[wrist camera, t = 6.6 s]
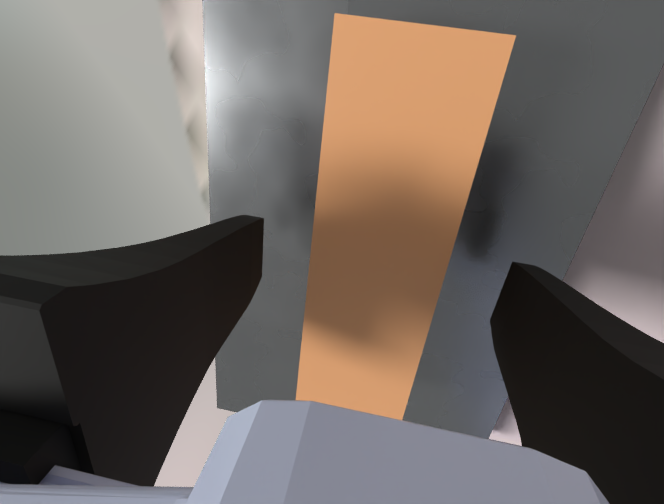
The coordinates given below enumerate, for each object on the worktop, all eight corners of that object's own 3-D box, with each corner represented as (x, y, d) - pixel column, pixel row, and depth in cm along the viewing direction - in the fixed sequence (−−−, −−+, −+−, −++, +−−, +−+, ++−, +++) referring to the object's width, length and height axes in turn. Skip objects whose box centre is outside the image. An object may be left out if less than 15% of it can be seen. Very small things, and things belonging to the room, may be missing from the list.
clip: (396, 344, 17) (395, 443, 13) (320, 329, 18) (293, 421, 13) (473, 42, 12) (516, 35, 7) (359, 28, 12) (334, 12, 8)
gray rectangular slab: (469, 426, 19) (475, 465, 17) (233, 376, 20) (217, 407, 18) (697, -115, 9) (765, -153, 8) (230, -155, 11) (195, -197, 9)
